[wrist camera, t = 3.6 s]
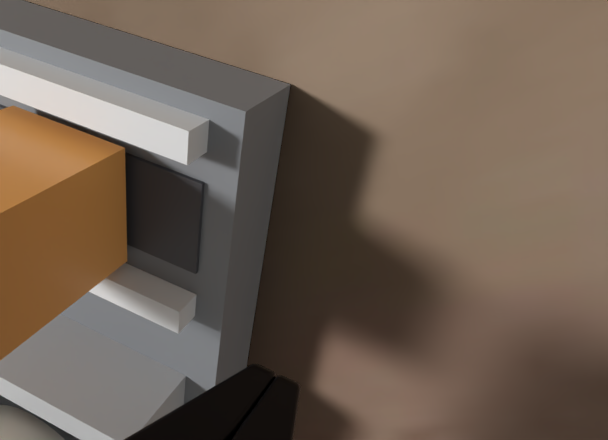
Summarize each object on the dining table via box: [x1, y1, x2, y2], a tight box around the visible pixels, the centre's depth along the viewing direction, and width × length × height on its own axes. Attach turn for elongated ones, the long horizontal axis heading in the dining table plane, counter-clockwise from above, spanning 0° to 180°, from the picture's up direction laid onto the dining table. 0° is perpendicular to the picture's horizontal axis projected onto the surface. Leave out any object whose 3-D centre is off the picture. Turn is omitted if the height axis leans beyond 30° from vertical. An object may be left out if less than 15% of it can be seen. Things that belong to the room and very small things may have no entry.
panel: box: [0, 0, 291, 440], centre depth 15 cm, size 14×14×4 cm
